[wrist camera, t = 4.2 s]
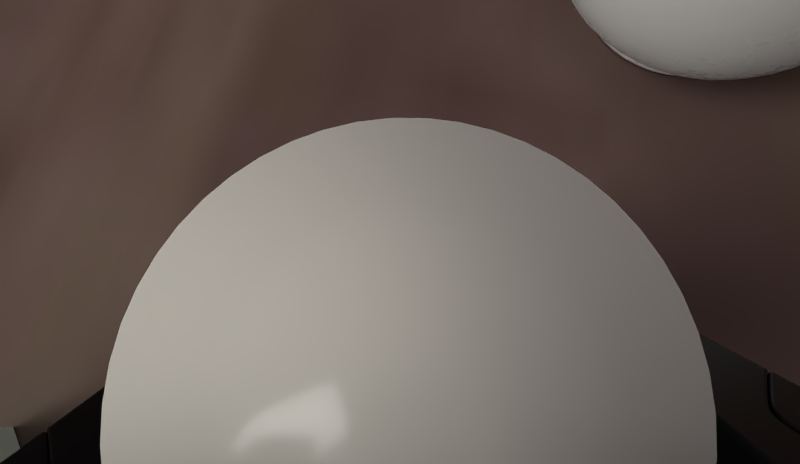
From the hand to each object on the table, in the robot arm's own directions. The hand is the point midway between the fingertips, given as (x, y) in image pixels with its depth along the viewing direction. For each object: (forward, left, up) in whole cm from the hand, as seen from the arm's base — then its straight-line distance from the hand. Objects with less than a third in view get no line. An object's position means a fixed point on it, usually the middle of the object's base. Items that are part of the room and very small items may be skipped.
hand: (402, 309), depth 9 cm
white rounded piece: (-1, +1, -7) cm, 7 cm away
